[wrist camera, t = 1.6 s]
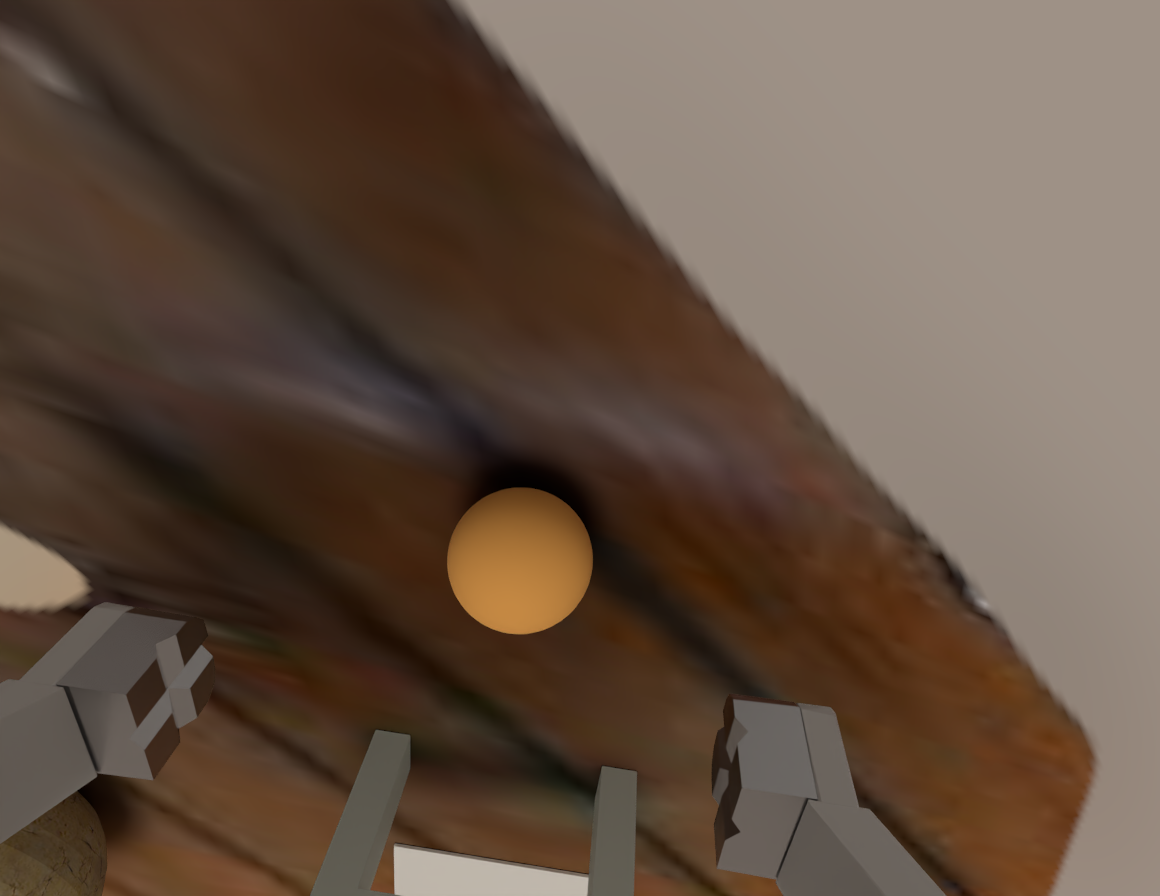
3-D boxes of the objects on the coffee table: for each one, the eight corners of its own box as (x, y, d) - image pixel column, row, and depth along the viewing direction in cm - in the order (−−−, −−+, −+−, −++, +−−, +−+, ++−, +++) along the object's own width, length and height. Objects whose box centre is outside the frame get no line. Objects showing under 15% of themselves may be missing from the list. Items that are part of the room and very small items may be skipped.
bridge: (375, 729, 41) (305, 908, 33) (637, 771, 41) (631, 961, 33) (376, 762, 43) (309, 941, 35) (628, 803, 43) (621, 993, 34)
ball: (468, 450, 31) (431, 535, 26) (606, 471, 31) (596, 561, 26) (463, 558, 34) (428, 653, 29) (588, 577, 34) (576, 676, 29)
